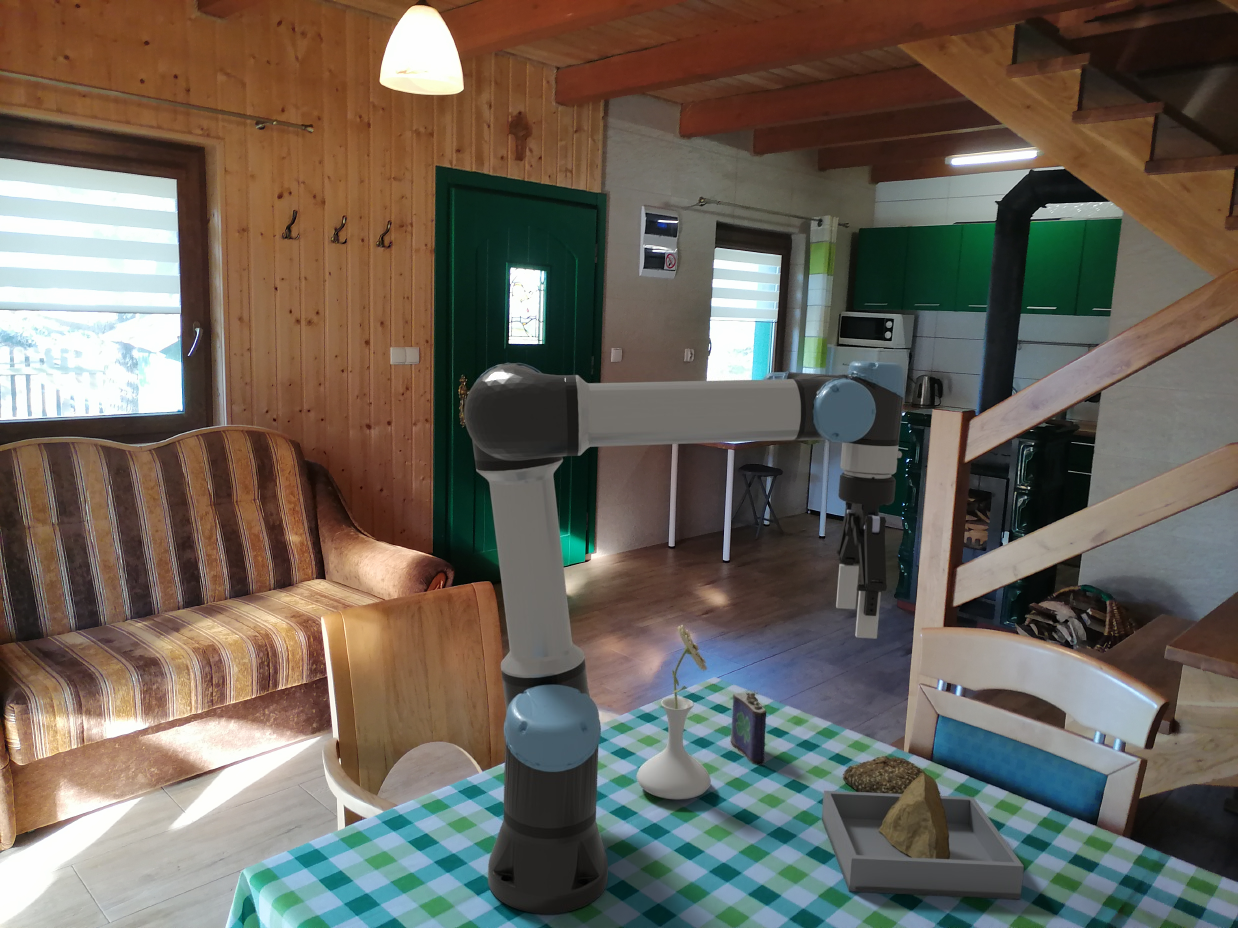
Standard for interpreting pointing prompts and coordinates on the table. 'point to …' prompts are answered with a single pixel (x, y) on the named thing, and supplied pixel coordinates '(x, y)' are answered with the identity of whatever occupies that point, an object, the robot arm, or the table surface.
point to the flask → (748, 726)
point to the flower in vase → (676, 746)
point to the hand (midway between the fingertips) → (855, 622)
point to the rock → (918, 821)
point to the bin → (882, 868)
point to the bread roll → (882, 775)
